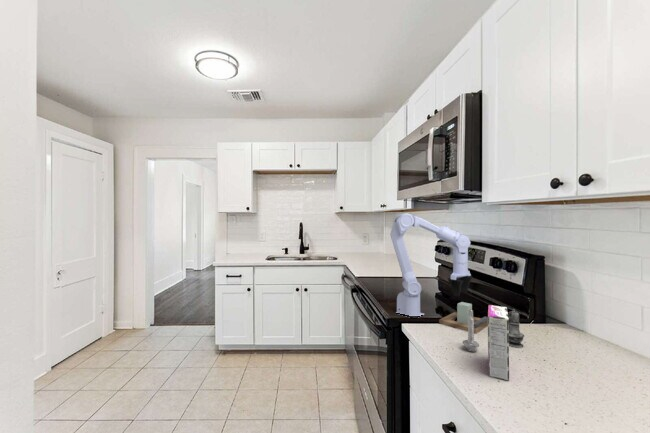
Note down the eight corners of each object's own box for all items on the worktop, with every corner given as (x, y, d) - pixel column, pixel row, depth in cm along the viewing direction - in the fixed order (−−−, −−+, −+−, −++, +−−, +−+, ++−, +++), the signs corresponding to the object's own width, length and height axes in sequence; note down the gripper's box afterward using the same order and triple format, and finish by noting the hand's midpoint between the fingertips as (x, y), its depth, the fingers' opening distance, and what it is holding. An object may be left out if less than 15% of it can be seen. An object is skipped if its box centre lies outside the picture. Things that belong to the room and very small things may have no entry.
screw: (460, 346, 97) (476, 347, 96) (464, 352, 92) (481, 354, 92) (460, 306, 97) (476, 307, 96) (464, 311, 92) (481, 312, 92)
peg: (457, 323, 117) (457, 303, 117) (461, 321, 120) (461, 301, 120) (467, 326, 114) (467, 306, 114) (471, 324, 117) (471, 304, 117)
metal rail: (472, 327, 109) (472, 323, 109) (484, 320, 117) (484, 316, 117) (476, 328, 108) (476, 324, 108) (487, 320, 116) (487, 317, 116)
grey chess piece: (528, 348, 96) (528, 311, 96) (510, 348, 96) (510, 311, 96) (517, 340, 101) (517, 305, 101) (499, 340, 102) (500, 305, 102)
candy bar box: (487, 359, 88) (487, 304, 88) (507, 363, 86) (507, 306, 86) (487, 376, 79) (487, 315, 79) (509, 382, 76) (509, 318, 76)
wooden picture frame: (439, 323, 118) (439, 319, 118) (454, 315, 127) (454, 312, 127) (476, 333, 107) (476, 329, 107) (489, 324, 117) (490, 320, 117)
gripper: (462, 265, 119) (462, 299, 119) (476, 261, 128) (476, 293, 128) (445, 263, 124) (445, 295, 124) (460, 260, 134) (460, 290, 134)
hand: (460, 294), depth 126 cm, fingers open, 7 cm apart
